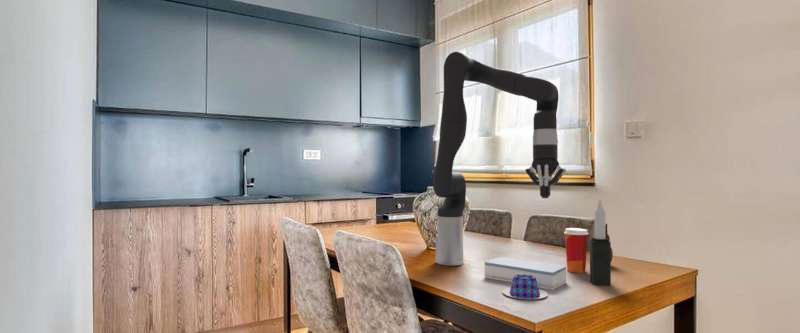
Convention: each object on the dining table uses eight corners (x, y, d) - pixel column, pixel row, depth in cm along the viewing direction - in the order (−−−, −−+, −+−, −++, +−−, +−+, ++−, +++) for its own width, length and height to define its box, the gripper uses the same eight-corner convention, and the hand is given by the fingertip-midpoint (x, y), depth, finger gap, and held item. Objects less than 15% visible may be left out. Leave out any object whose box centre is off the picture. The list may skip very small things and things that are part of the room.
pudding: (546, 290, 126) (546, 272, 126) (549, 303, 115) (549, 283, 115) (503, 288, 130) (502, 270, 130) (501, 300, 118) (501, 280, 118)
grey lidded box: (484, 277, 141) (484, 264, 141) (500, 271, 148) (500, 259, 148) (552, 289, 126) (552, 275, 126) (566, 282, 134) (566, 269, 134)
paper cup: (577, 267, 154) (577, 227, 154) (594, 272, 146) (593, 230, 146) (558, 269, 151) (558, 228, 151) (574, 274, 144) (574, 231, 144)
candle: (611, 285, 130) (611, 200, 130) (593, 285, 131) (592, 200, 131) (607, 281, 135) (606, 199, 135) (589, 280, 136) (589, 199, 136)
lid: (484, 264, 141) (484, 262, 141) (500, 259, 148) (500, 257, 148) (552, 275, 126) (552, 272, 126) (566, 269, 134) (566, 266, 134)
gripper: (520, 144, 144) (520, 197, 144) (561, 142, 135) (561, 199, 135) (530, 144, 149) (530, 196, 149) (570, 143, 141) (570, 198, 141)
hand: (545, 197), depth 142 cm, fingers closed
